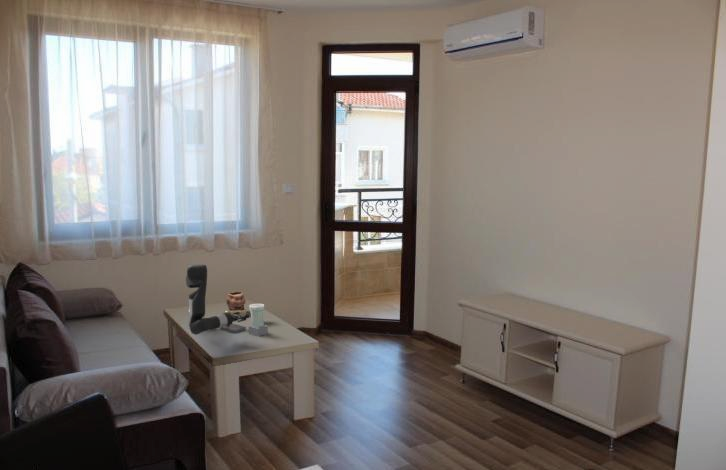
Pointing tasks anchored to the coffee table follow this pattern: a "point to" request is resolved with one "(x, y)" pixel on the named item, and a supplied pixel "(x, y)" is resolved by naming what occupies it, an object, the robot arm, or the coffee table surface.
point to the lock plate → (233, 328)
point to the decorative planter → (235, 301)
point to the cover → (258, 318)
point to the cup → (254, 306)
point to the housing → (258, 330)
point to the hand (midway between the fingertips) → (244, 314)
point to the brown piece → (236, 311)
